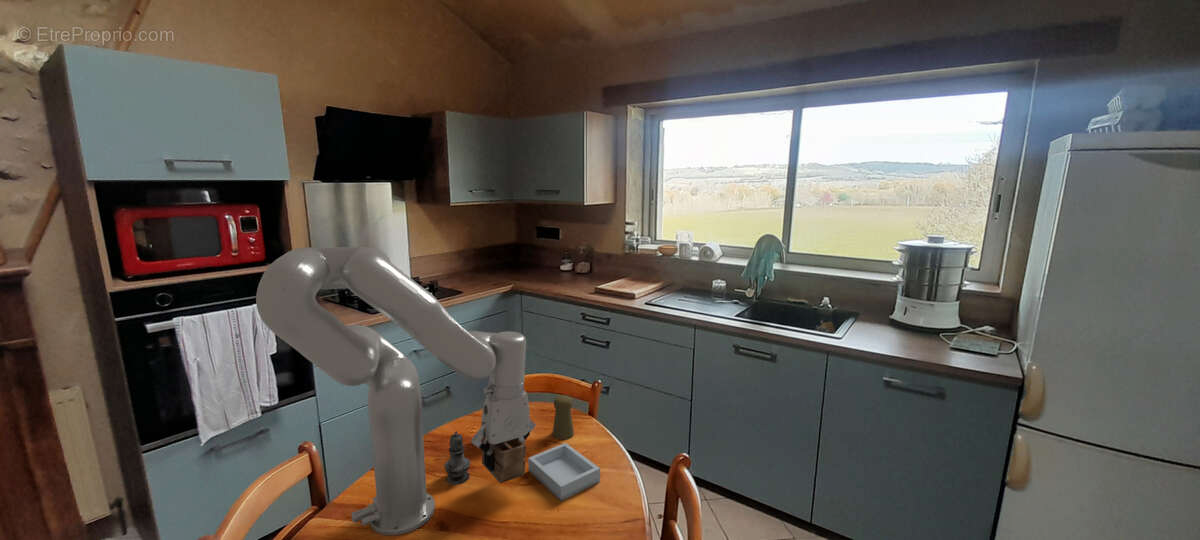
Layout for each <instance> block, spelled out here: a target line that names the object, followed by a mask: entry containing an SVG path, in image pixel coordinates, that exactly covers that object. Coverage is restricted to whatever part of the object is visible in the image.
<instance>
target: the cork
mask: <svg viewBox="0 0 1200 540" xmlns="http://www.w3.org/2000/svg"><path fill="white" fill-rule="evenodd" d="M553 407H554V409H555V413H554V420H553V421H554V422H553V428H552V436H553V438H554V439H557V440H559V441H565V440H569V439H572V438H573V437H574V435H575V432H574V425H573V418H572V410H571V409H572V408H573V398H572V397H570V396H568V395H566V394H565V395H564V394H563V395H557V396H556V397H555V398H554V400H553Z"/></svg>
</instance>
